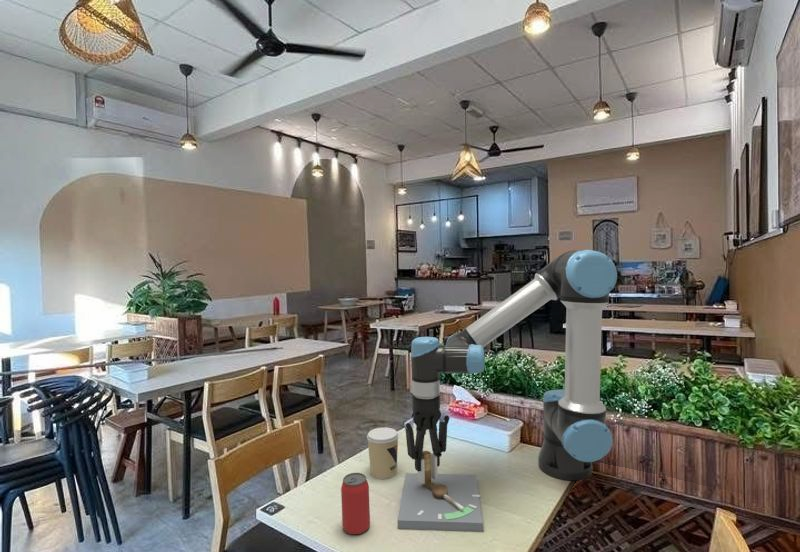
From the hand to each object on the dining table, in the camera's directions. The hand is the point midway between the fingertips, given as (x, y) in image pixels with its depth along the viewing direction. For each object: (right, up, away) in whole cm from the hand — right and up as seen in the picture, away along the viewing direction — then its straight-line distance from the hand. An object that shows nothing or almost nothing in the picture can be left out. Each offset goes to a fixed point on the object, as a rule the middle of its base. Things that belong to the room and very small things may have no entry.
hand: (427, 479), depth 115 cm
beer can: (-18, -5, -14) cm, 23 cm away
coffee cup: (-12, -4, +12) cm, 17 cm away
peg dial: (+3, -1, -5) cm, 6 cm away
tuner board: (+3, -4, -5) cm, 7 cm away
